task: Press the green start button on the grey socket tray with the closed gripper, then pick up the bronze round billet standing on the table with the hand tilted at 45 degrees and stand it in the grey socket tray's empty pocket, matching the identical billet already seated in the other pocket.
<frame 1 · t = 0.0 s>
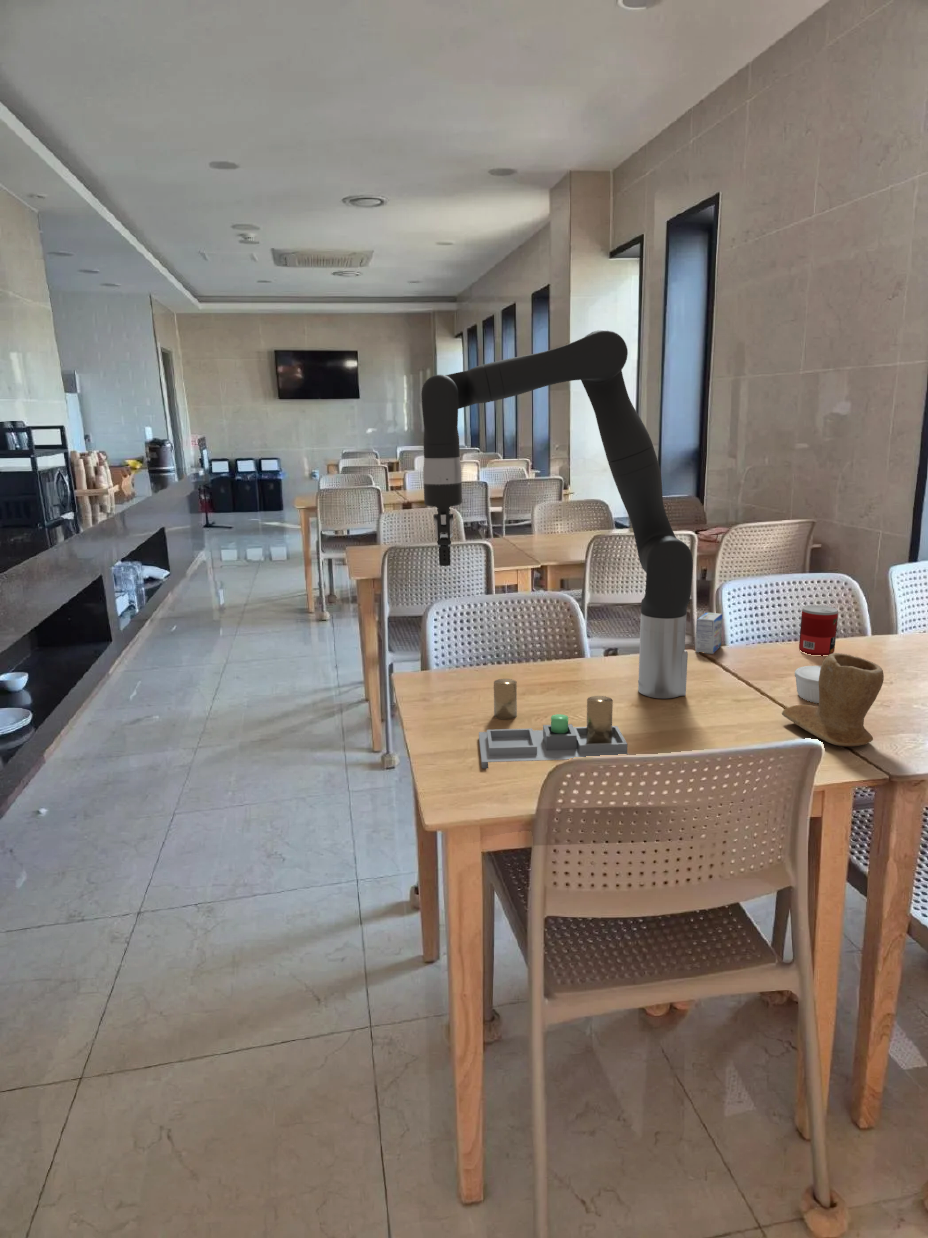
hand: (445, 561, 158), 29 cm above the table, tool pointing down, fingers open, 8 cm apart
ramekin: (822, 698, 160), on the table
start button: (559, 723, 137), point 5 cm above the table, slide at 0.0 cm
tan hollow curved piece: (832, 735, 142), on the table
seated billet: (598, 742, 138), point 1 cm above the table, touching grey socket tray
grey socket tray: (550, 750, 138), on the table
canned food: (816, 653, 191), on the table
medicine box: (707, 650, 195), on the table
billet: (505, 721, 152), on the table
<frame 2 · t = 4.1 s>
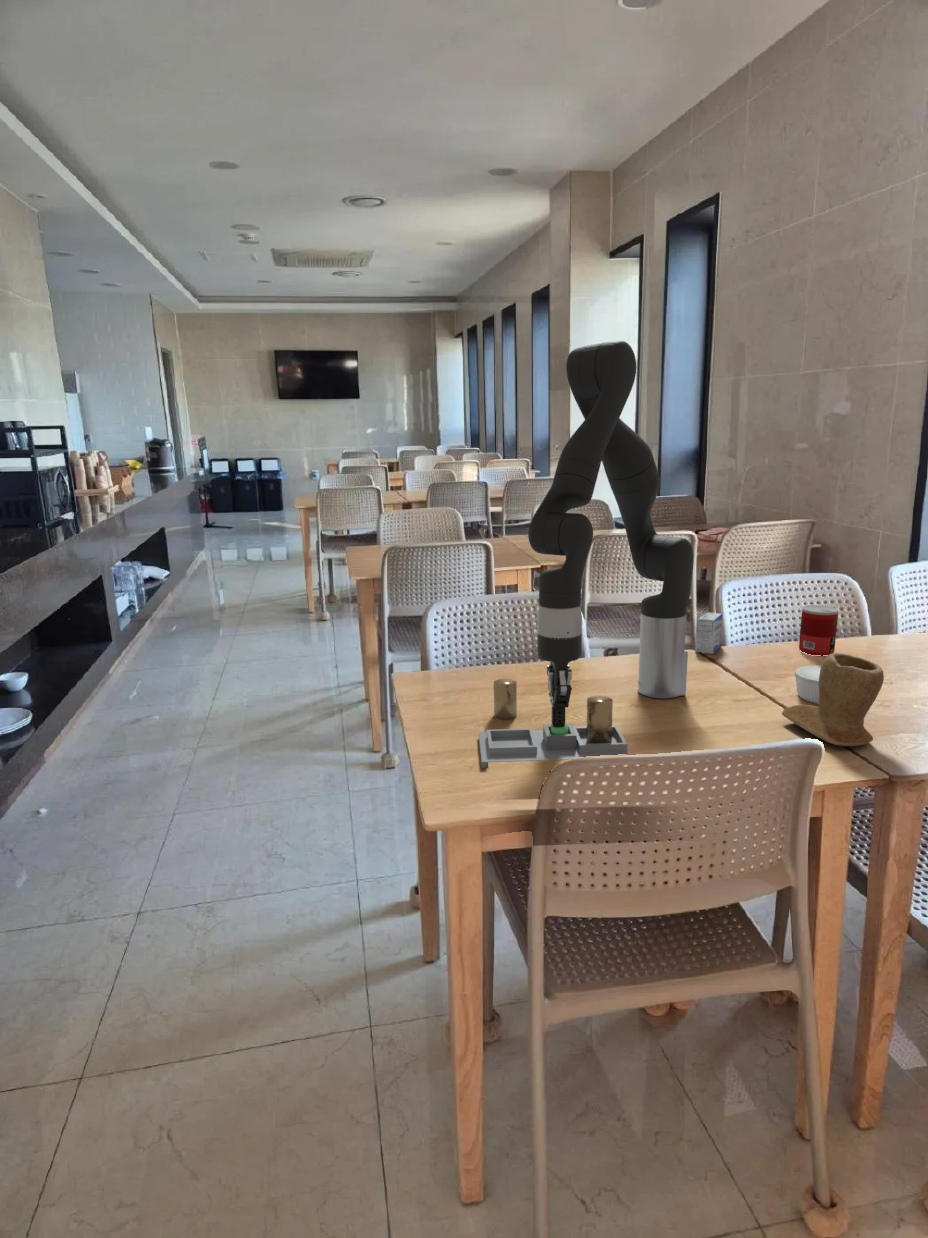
hand: (558, 725, 137), 5 cm above the table, tool pointing down, fingers closed
start button: (559, 731, 137), point 3 cm above the table, slide at 1.5 cm, touching gripper
everything else where it was.
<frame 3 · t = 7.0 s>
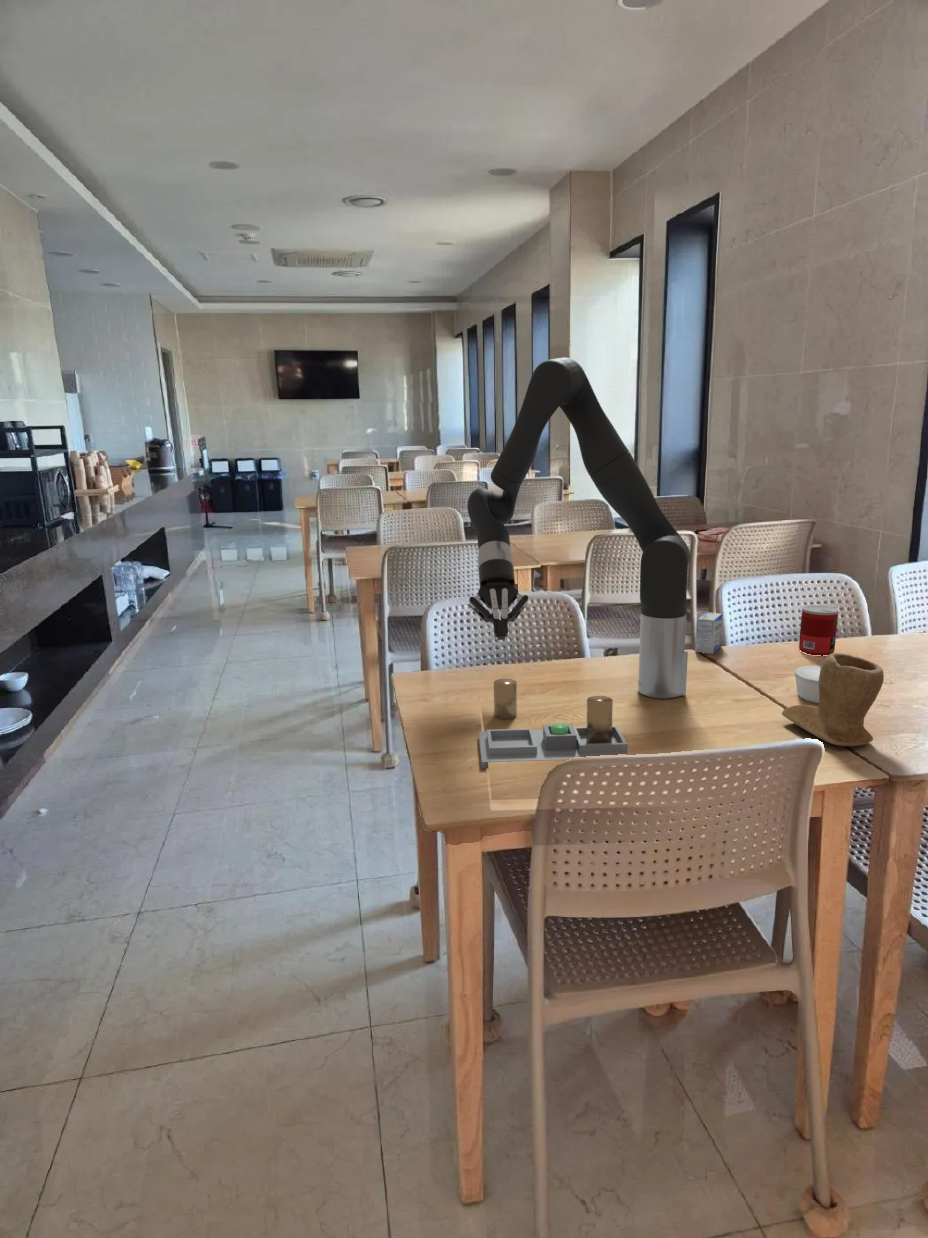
hand: (501, 637, 158), 14 cm above the table, tool tilted 45°, fingers closed
start button: (559, 732, 137), point 3 cm above the table, slide at 1.7 cm
everything else where it was.
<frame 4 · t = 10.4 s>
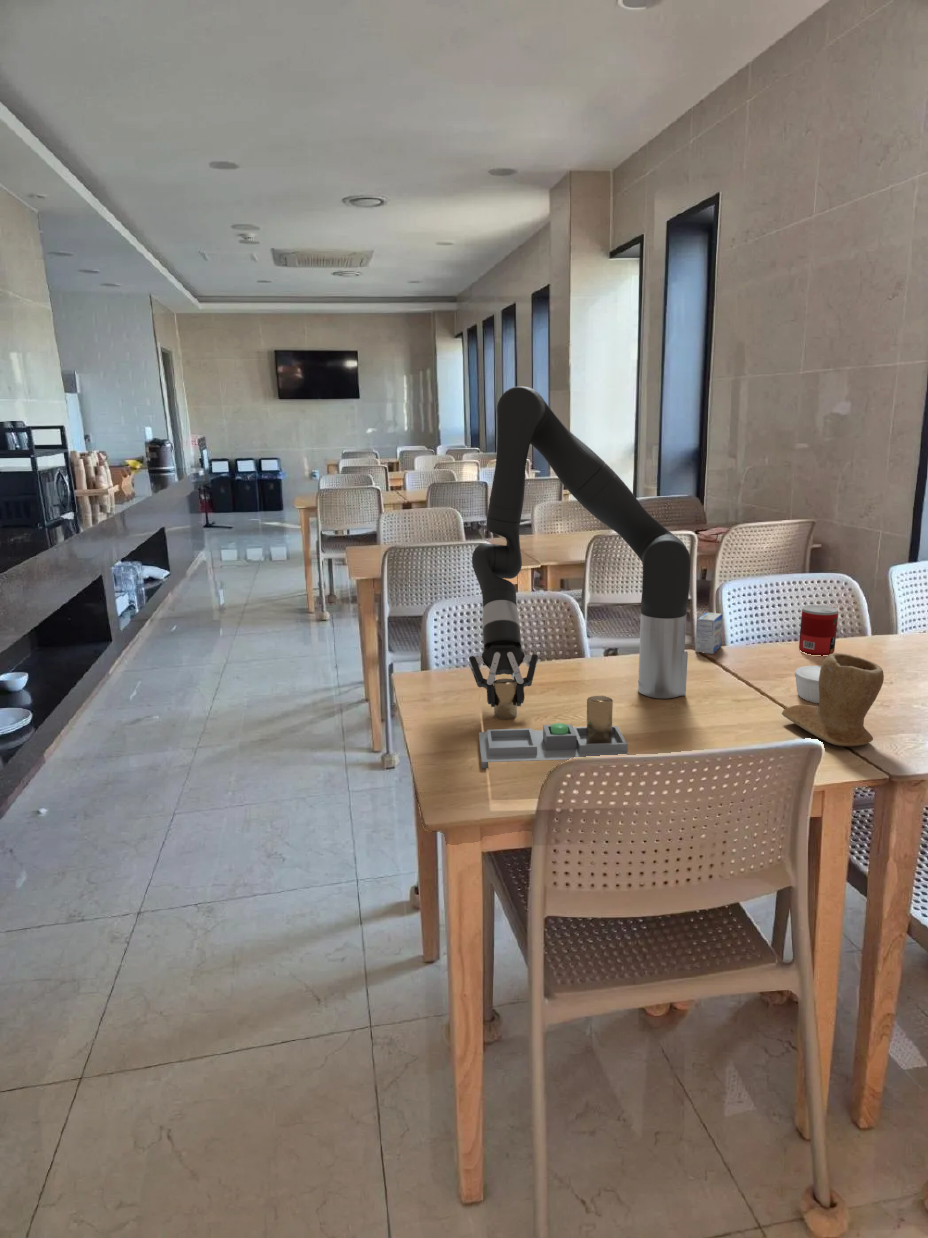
hand: (506, 704, 149), 4 cm above the table, tool tilted 45°, fingers closed on billet, 4 cm apart
billet: (505, 721, 152), on the table, touching gripper
everything else where it was.
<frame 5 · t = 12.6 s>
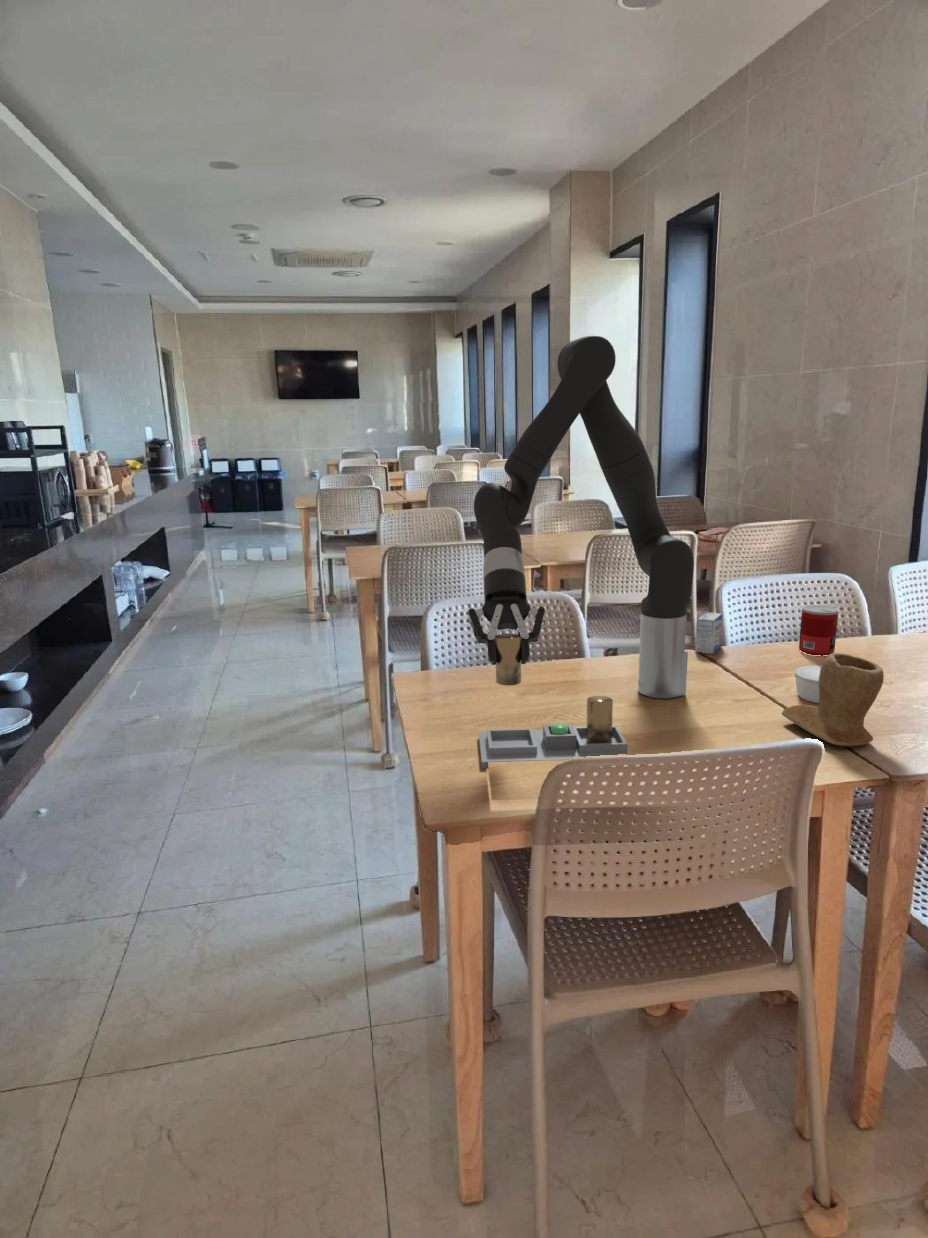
hand: (509, 661, 132), 17 cm above the table, tool tilted 45°, fingers closed on billet, 4 cm apart
billet: (508, 681, 135), point 13 cm above the table, touching gripper
everything else where it was.
when the fingers open (7 cm above the table, at t = 14.9 s): billet drops 2 cm, resting on grey socket tray.
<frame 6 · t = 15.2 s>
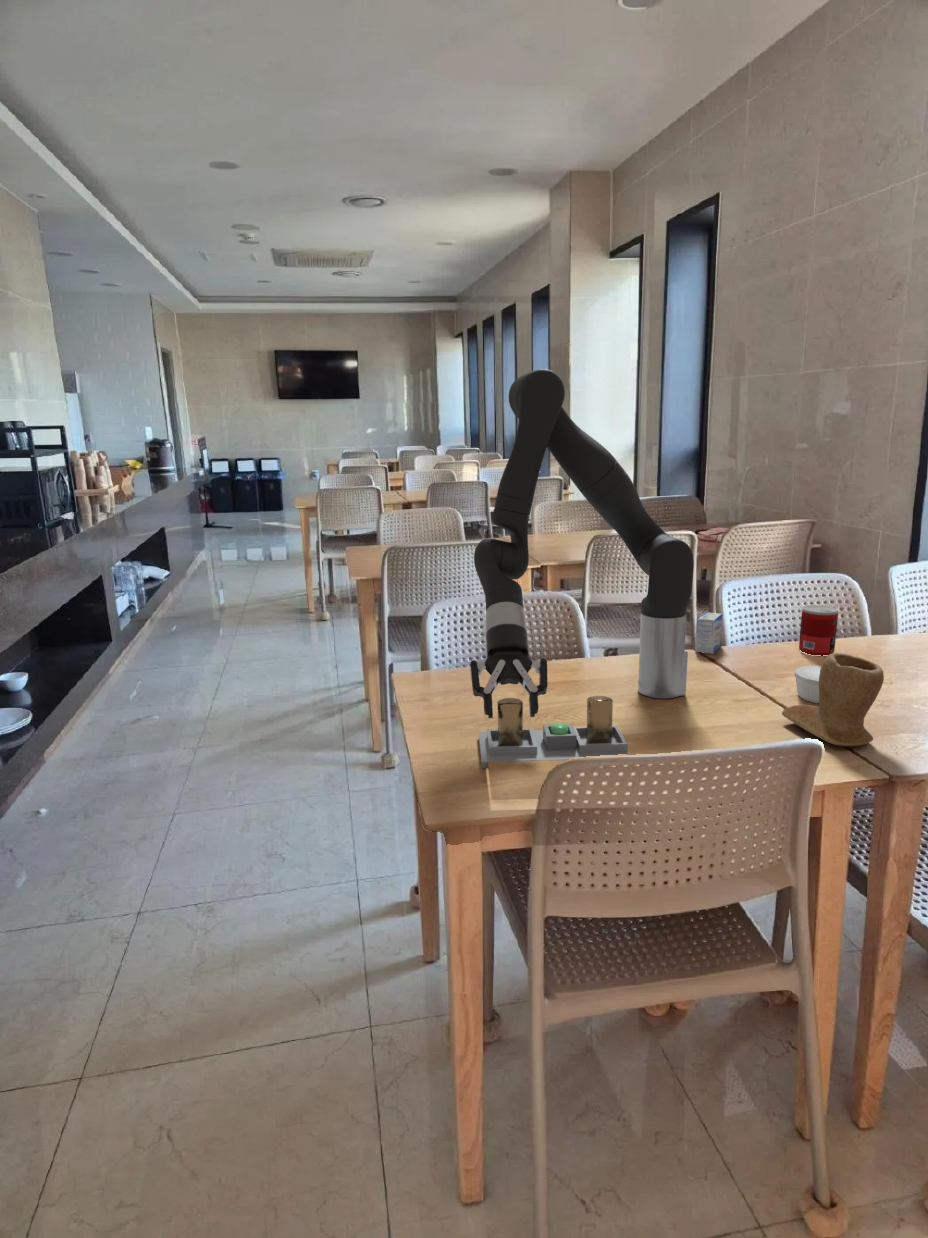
hand: (511, 715, 134), 7 cm above the table, tool tilted 45°, fingers open, 6 cm apart
billet: (510, 745, 137), point 1 cm above the table, touching grey socket tray
everything else where it was.
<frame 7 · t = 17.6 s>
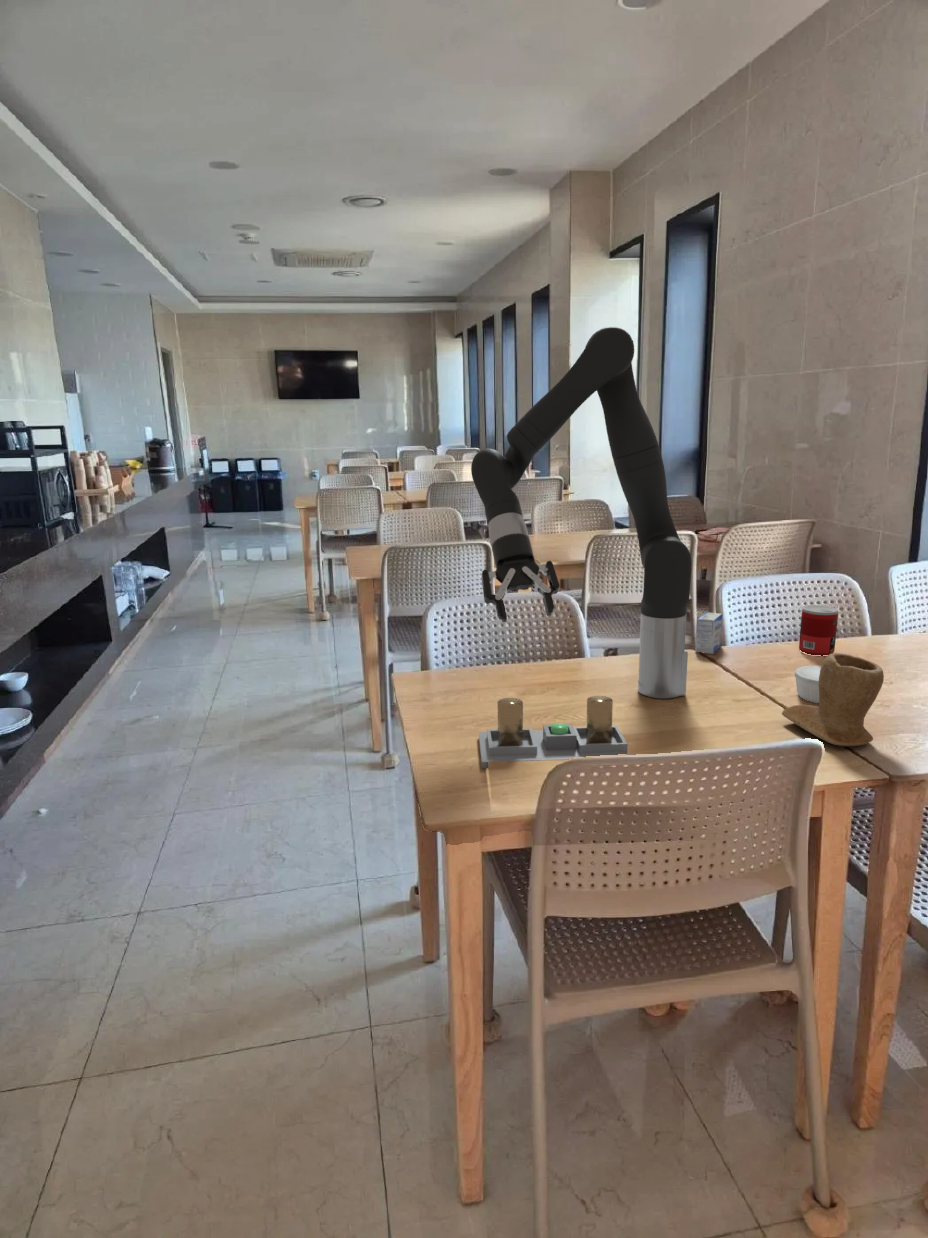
hand: (527, 617, 145), 21 cm above the table, tool tilted 40°, fingers open, 8 cm apart
nothing on the table moved.
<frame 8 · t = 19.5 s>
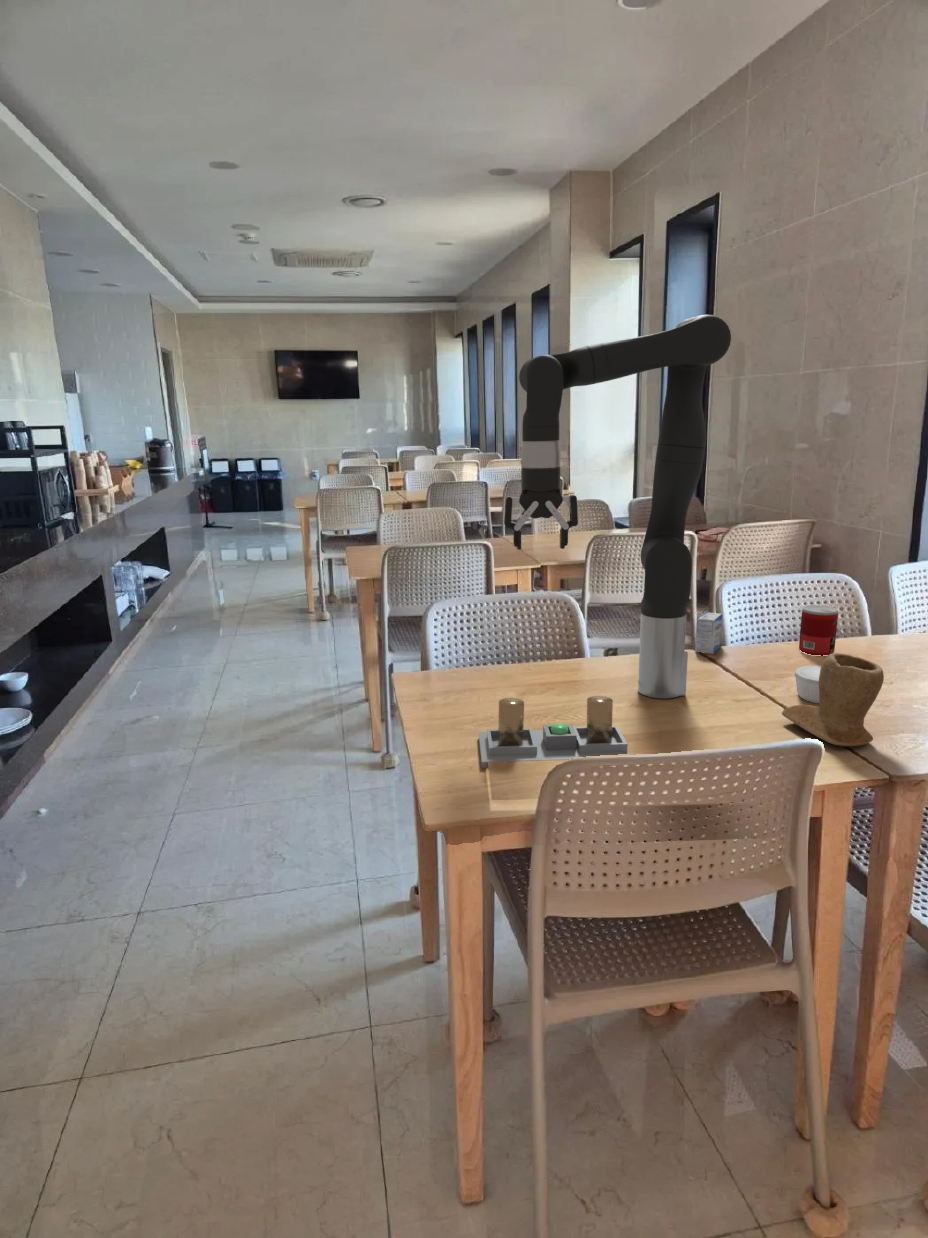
hand: (540, 548, 154), 32 cm above the table, tool pointing down, fingers open, 8 cm apart
nothing on the table moved.
at the end: billet inside the target area on the grey socket tray (0.1 cm from its centre), point 1.3 cm above the grey socket tray's base; billet tilted 2°; start button slide at 1.7 cm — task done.
